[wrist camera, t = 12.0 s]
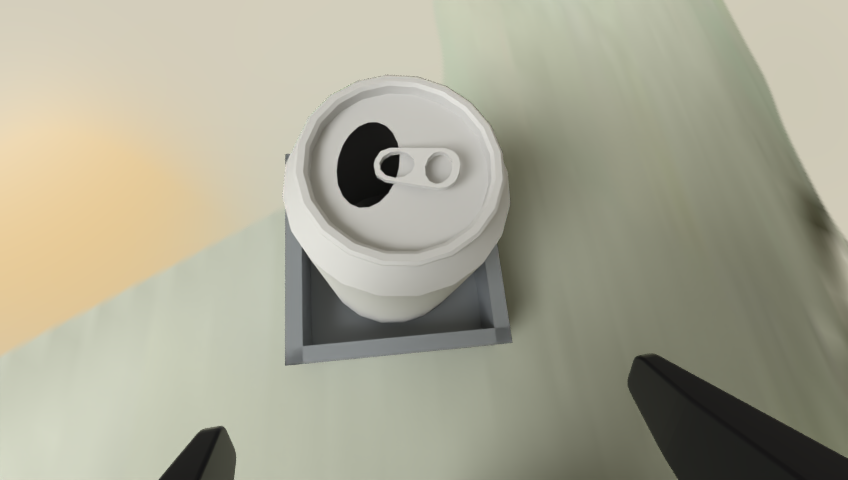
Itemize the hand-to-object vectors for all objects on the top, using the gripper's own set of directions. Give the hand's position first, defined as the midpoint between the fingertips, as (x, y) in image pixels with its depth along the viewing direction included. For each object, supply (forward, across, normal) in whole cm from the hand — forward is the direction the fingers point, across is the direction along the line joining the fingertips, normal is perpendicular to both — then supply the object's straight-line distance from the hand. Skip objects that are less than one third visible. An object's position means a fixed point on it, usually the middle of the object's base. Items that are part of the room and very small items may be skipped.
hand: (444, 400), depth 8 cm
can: (+14, 0, +5) cm, 15 cm away
